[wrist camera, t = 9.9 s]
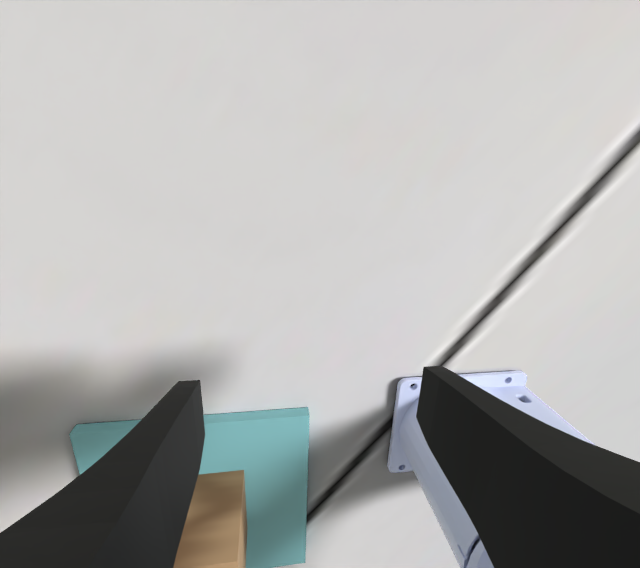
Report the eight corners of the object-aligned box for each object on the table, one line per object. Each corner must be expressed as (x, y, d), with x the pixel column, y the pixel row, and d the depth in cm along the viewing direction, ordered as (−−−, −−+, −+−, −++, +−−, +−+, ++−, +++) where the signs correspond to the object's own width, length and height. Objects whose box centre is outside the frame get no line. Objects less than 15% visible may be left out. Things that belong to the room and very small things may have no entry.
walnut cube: (244, 469, 22) (237, 561, 17) (247, 528, 24) (242, 627, 19) (155, 479, 21) (120, 578, 16) (166, 539, 23) (137, 645, 18)
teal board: (307, 407, 22) (309, 415, 21) (304, 551, 27) (305, 562, 26) (76, 424, 20) (69, 434, 19) (114, 578, 25) (110, 591, 24)
